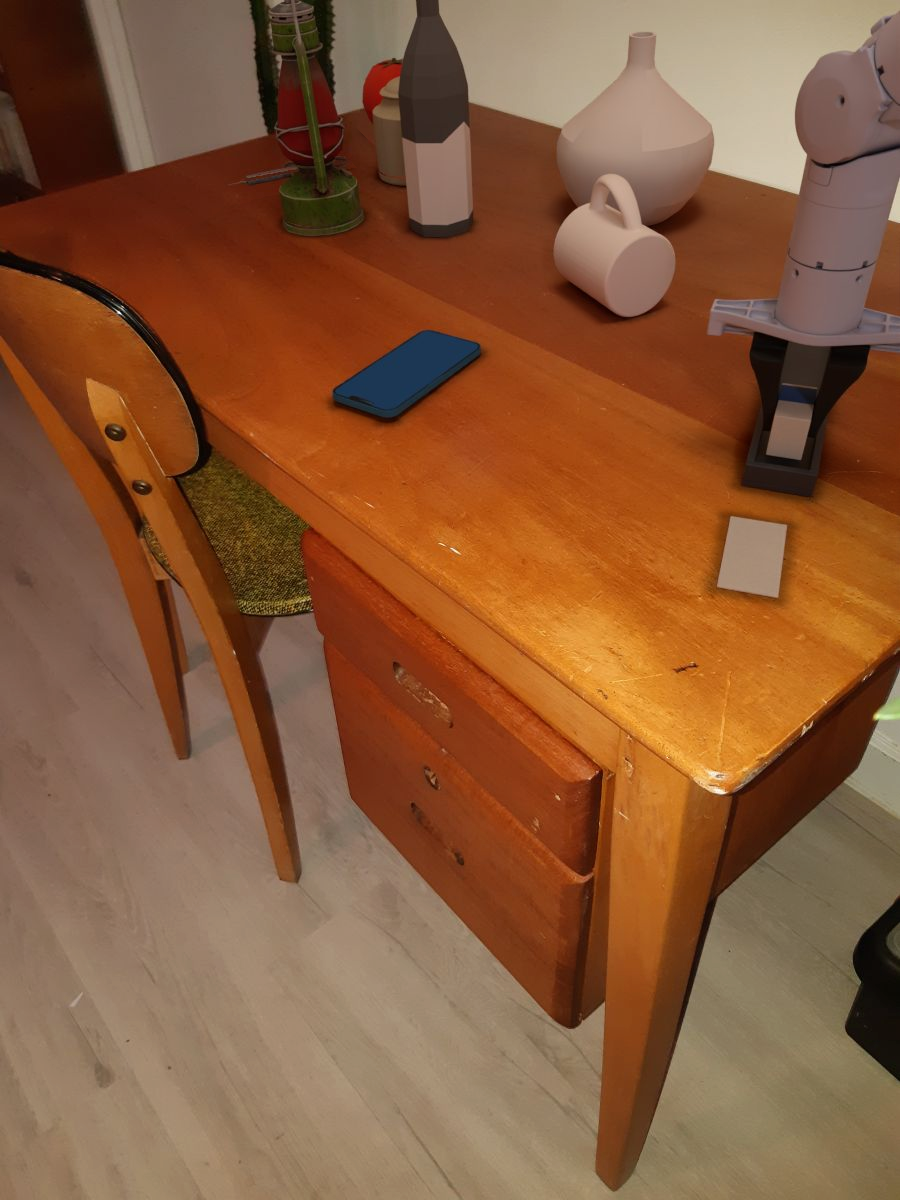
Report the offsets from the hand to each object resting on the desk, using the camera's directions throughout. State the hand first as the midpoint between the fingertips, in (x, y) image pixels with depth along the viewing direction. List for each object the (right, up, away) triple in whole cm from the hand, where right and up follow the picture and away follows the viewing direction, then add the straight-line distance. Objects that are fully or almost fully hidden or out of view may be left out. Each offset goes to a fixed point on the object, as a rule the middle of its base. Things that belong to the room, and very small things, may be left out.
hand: (790, 427), depth 68 cm
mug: (-9, +18, +25) cm, 32 cm away
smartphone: (-30, +8, +15) cm, 35 cm away
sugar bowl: (-32, +48, +58) cm, 82 cm away
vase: (-4, +35, +41) cm, 54 cm away
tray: (+5, +6, +11) cm, 13 cm away
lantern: (-43, +36, +46) cm, 72 cm away
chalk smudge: (-5, -10, -6) cm, 13 cm away
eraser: (0, -1, +1) cm, 1 cm away
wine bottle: (-27, +33, +42) cm, 60 cm away
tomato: (-34, +62, +73) cm, 102 cm away
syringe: (-50, +47, +59) cm, 90 cm away
